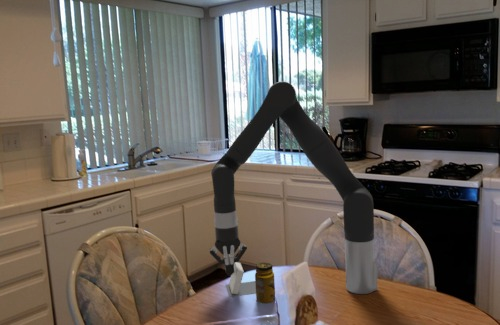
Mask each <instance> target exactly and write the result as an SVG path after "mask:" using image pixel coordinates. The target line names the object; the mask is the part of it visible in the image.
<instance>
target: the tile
mask: <svg viewBox="0 0 500 325" xmlns="http://www.w3.org/2000/svg"><path fill="white" fill-rule="evenodd" d="M244 273H245V271H244V269H243V266H242V263H241V262H239V261H238V262H235V263H234V273H232V274H233V275H230V278H229V282H228V284H229V286H230V289H231V292H232V294H238V292H239V288H240V285H241V283H242V280H243V278H244Z"/></svg>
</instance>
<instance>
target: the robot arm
mask: <svg viewBox="0 0 500 325" xmlns="http://www.w3.org/2000/svg"><path fill="white" fill-rule="evenodd" d="M279 118H280V119H281V120H282V121H283V122H284V123H285V125H286V126H287V128H288V129H289V130H290V132H291V133H292V135H293V137H294V139H295V140H296V142H297V144H298V146H299V147H300V149H301V150H302V151H303V154H305V156H306V157H307V158H308V161H309V162H310V163H311V164H312V166H313V167H314V168H315V169H316V170H317V171H318V172H319V173H320V174H322V175H323V176H324V177H325V178H326V179H327V180H328V181H329V182H330V183H331V184H332V186H333V187H334V188H335V189H336V191H337V193H338V195H339V196H340V198H341V199H342V202H343V204H342V206H343V208H342V209H343V232H344V255H345V257H344V258H345V259H344V260H345V261H344V262H345V285H346V286H345V288H346V290H347V291H348V292H350V293H351V294H357V295H367V294H371V293H373V292H374V291H378V263H377V261H376V260H375V215H374V214H375V210H374V207H375V206H374V198H373V195H372V194H371V193H370V191H369V190H368V189H367V188H366V187H365V186H364V185H363V184H362V183H361V181H359V180H358V178H357V177H356V176H355V175H354V173H352V171H351V170H350V168H349V167H348V165H347V163H346V161H345V159H344V158H343V156H342V155H341V153H340V151H339V150H338V148H337V147H336V146H335V144H334V143H333V142H332V140H331V139H330V138H329V136H328V135H327V133H326V132H325V131H323V129H322V128H321V127H320V126H319V125H318V124H317V123H316V122H315V121H314V120H312V118H310V117H309V115H308V113H307V112H305V110H304V108H303V107H302V105H301V103H300V102H299V100H298V99H297V92H296V89H295V87H294V86H293V84H291V83H290V82H288V81H284V80H283V81H282V80H281V81H278V82H277V81H276V82H275V83H273V84H272V85H271V86H270V87H269V88H268V90H267V94H266V96H265V98H264V100H263V102H262V103H261V105H260V107H259V109H258V110H257V112H256V113H255V114H254V116H253V117H252V118H251V120H250V121H249V122H248V124H246V126H245V127H244V128H243V130H242V131H241V132H240V133H239V135H238V136H237V137H236V139H235V140H234V141H233V142H232V144H231V145H230V146H229V148H228V149H227V151H226V152H225V153H224V155H223V156H221V158H219V160H218V161H217V162H216V163H215V165H214V166H213V168H212V170H211V174H210V175H211V178H212V188H213V194H214V195H213V208H214V215H213V216H214V217H213V218H214V219H213V220H214V232H215V241H214V245H213V246H212V247H211V248H209V250H208V251H209V254H210V255H211V256H212V257H213V258H214V259H215V260H216V261H217V262H218V263H219V264H221V265H222V264H223V265H224V270H225V274H226V275H227V276H231V275H233V274H232V273H234V263H235V262H238V263H239V262H240V260H241V258H242V257H243V256H244V254H245V252H246V251H247V249H248V247H247V245H246V244H243V243H241V240H240V236H239V224H238V223H239V222H238V221H239V220H238V215H237V214H238V213H237V209H236V208H237V207H236V206H237V205H236V198H235V174H236V172H237V171H238V169H240V167H241V166H242V165H244V164H245V163H246V162H247V161H248V160H249V159H250V157H252V154H254V152H255V151H256V149H257V148H258V147H259V145H260V143H261V142H262V140H263V139H264V137H265V136H266V134H267V133H268V131H269V130H270V129H271V127H272V126H273V124H274V123H275V122H276V121H277V120H278V119H279ZM237 250H238V251H237ZM218 252H219V253H220V254H221V255H223V258H222V257H221V256H220V255H219V254H218ZM236 252H237V253H236ZM235 253H236V254H235Z"/></svg>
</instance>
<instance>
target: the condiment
mask: <svg viewBox="0 0 500 325" xmlns="http://www.w3.org/2000/svg"><path fill="white" fill-rule="evenodd" d="M273 270H274V269H273V264H272V263H270V262H259V263H257V264H256V265H255V274H254V278H255V280H254V281H255V283H256V294H255V297H256V302H258V303H260V304H269V303H270V304H271V303H272V302H274V301H275V299H276V288H275V285H276V283H275V273H274V271H273Z"/></svg>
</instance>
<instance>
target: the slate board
mask: <svg viewBox="0 0 500 325" xmlns="http://www.w3.org/2000/svg"><path fill="white" fill-rule="evenodd" d="M225 288H226V291H227V295H228V297H229V298H233V297H239V296H247V295H256V283H255V280H251V281H246V282H241V285H240V288H239V292H238V294H232V292H231V289H230V286H229V283H228V284H225Z"/></svg>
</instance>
